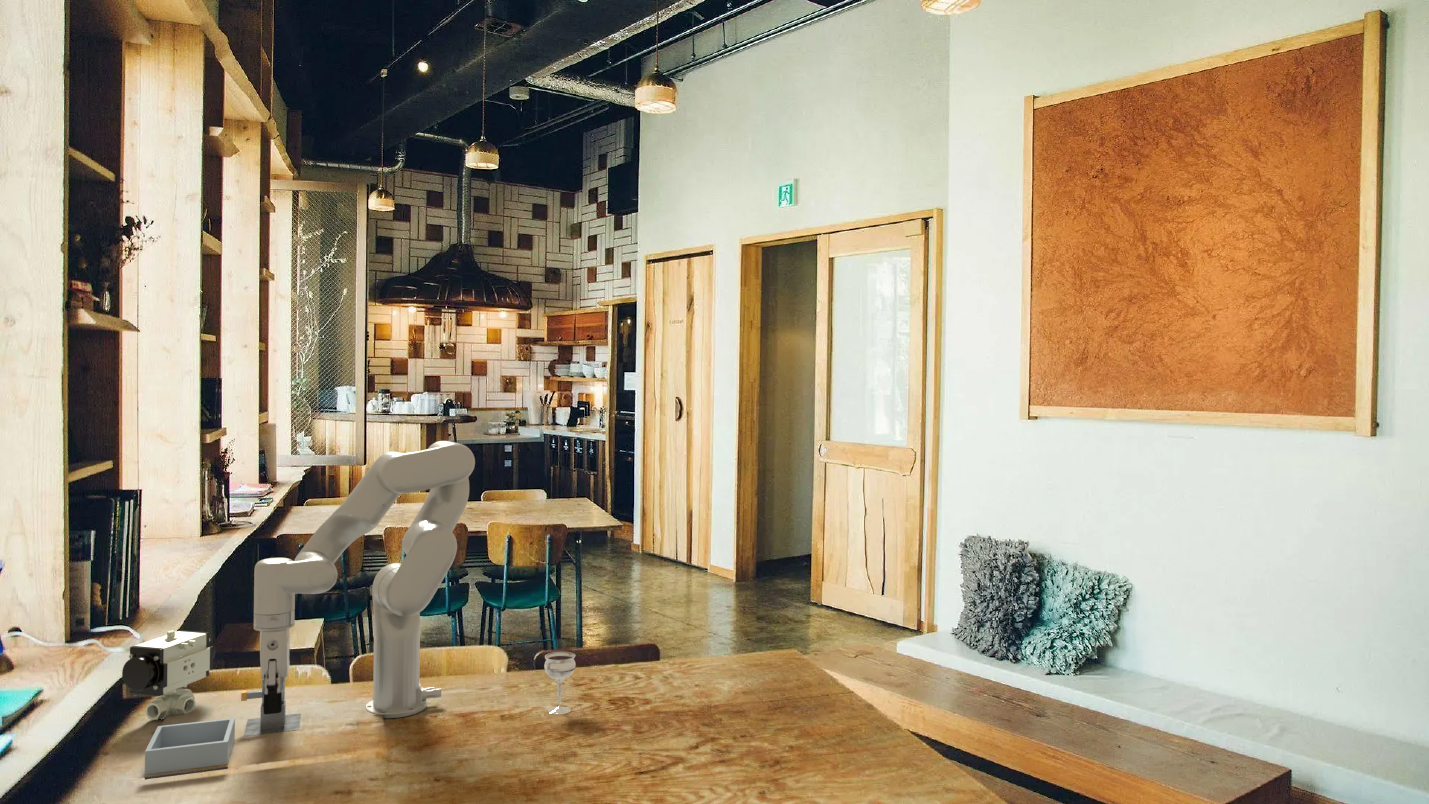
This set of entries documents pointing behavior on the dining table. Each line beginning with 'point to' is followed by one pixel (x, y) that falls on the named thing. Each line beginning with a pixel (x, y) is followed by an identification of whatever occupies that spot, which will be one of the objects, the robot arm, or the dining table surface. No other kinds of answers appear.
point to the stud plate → (254, 727)
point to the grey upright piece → (265, 719)
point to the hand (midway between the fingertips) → (273, 708)
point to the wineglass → (559, 674)
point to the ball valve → (169, 670)
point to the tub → (190, 747)
